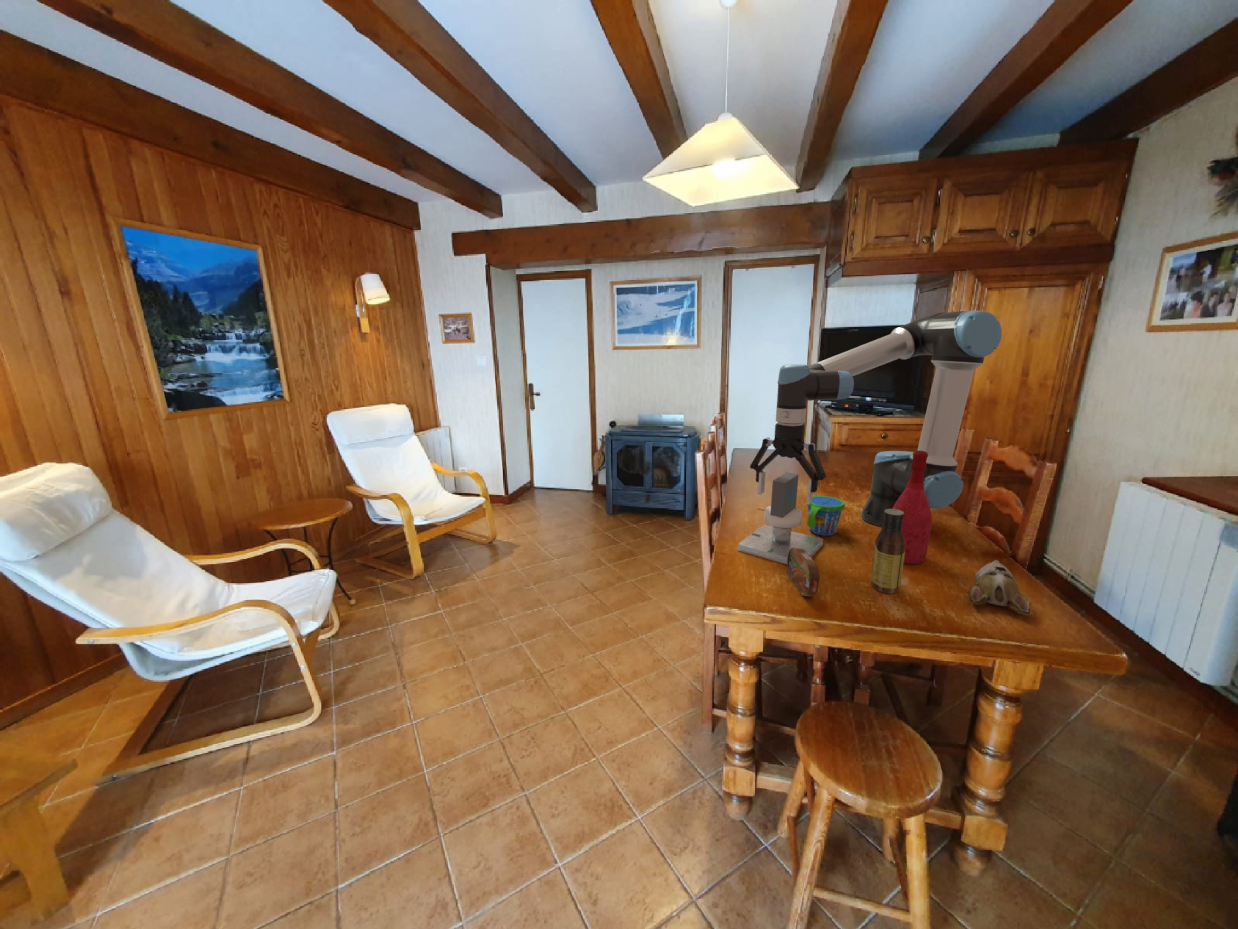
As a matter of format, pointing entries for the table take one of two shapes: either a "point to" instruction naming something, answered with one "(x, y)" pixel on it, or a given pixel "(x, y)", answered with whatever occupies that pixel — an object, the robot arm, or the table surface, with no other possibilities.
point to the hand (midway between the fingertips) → (784, 498)
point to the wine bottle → (915, 512)
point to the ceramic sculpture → (998, 588)
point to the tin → (803, 572)
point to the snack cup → (824, 514)
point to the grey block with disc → (783, 503)
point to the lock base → (779, 549)
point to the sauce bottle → (889, 553)
